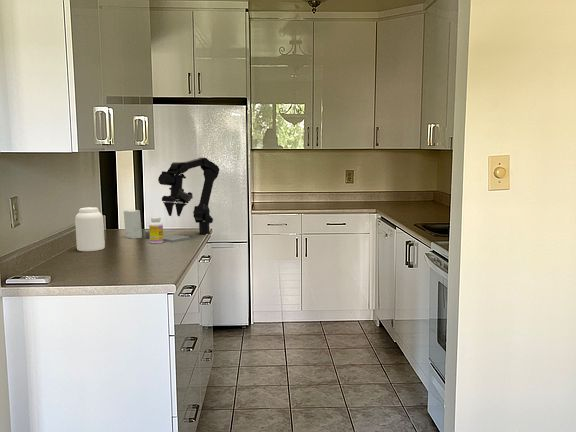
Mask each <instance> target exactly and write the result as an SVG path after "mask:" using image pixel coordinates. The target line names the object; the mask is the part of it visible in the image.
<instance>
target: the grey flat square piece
mask: <svg viewBox="0 0 576 432" xmlns="http://www.w3.org/2000/svg"><path fill="white" fill-rule="evenodd" d="M190 239H191V236H186V235H177V234H172V235H165V236H163V242H166V243H167V242H169V243H175V242H176V243H177V242H181V241H185V240H187V241H188V240H190Z"/></svg>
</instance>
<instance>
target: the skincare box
mask: <svg viewBox="0 0 576 432" xmlns="http://www.w3.org/2000/svg"><path fill="white" fill-rule="evenodd" d="M123 219H124V223H123V224H124V231H125V238H128V239H132V240H133V239H141V238H143V231H142V222H141V221H142V220H141V211H140V210H139V209H129V210H123Z"/></svg>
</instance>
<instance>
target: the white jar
mask: <svg viewBox="0 0 576 432" xmlns="http://www.w3.org/2000/svg"><path fill="white" fill-rule="evenodd" d="M74 221H75V223H74V225H75V238H76V249H77V251H79V252H82V253H83V252H85V253H86V252H97V251H101V250H104V249H105V247H106V244H105V227H104V226H105V225H104V216H103V213H101V211H99V207H95V206H89V207H81V208H79V210H78V213H77V214H76V215H75V218H74Z"/></svg>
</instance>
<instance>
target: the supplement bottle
mask: <svg viewBox="0 0 576 432" xmlns="http://www.w3.org/2000/svg"><path fill="white" fill-rule="evenodd" d="M161 219H162V218H161V217H159V216H153V217H150V221H151V222H149V225H148V226H149V227H148V228H149V231H148V232H150V239H149V243H150V244H153V245H154V244H157V245H158V244H163V243H164V241H163V237H164V224H163V222H161Z"/></svg>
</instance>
